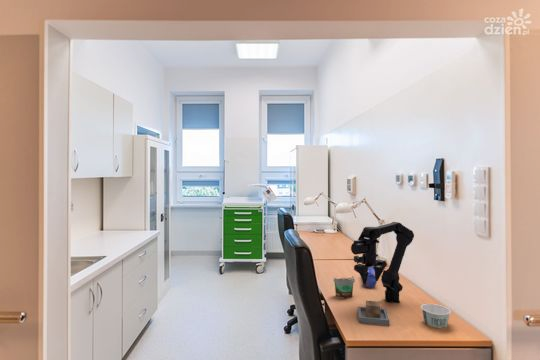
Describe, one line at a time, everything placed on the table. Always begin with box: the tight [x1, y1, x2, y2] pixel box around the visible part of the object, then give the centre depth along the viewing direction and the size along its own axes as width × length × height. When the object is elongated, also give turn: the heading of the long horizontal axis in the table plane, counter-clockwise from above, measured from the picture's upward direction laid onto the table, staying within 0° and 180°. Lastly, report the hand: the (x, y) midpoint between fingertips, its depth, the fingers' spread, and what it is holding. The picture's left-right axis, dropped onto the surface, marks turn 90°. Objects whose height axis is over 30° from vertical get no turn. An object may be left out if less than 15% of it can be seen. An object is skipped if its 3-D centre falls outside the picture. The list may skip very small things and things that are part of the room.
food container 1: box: [333, 275, 356, 299], centre depth 178 cm, size 12×6×10 cm, turn 105°
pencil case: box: [361, 267, 378, 288], centre depth 202 cm, size 22×9×10 cm, turn 164°
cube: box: [365, 300, 381, 318], centre depth 151 cm, size 6×6×6 cm
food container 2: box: [420, 303, 452, 329], centre depth 145 cm, size 12×12×6 cm
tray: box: [357, 305, 390, 326], centre depth 151 cm, size 13×13×2 cm
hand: (370, 282), depth 166 cm, fingers open, 9 cm apart
